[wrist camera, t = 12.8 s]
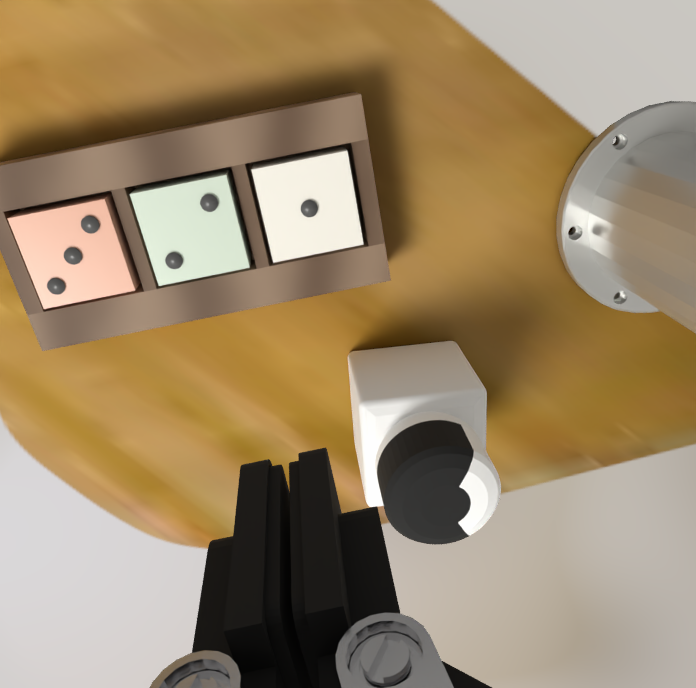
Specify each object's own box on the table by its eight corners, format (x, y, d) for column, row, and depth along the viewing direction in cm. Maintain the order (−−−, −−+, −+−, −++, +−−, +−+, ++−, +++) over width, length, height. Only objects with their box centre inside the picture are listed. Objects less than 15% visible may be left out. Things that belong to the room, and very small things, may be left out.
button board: (354, 92, 35) (360, 94, 32) (383, 265, 39) (390, 280, 36) (-8, 163, 34) (-33, 171, 32) (59, 330, 39) (42, 351, 36)
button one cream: (343, 145, 35) (347, 151, 32) (358, 234, 37) (363, 245, 35) (253, 163, 35) (251, 170, 32) (273, 251, 37) (273, 263, 34)
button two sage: (229, 167, 35) (226, 175, 32) (251, 255, 37) (249, 268, 34) (139, 186, 35) (129, 194, 32) (166, 272, 37) (158, 286, 34)
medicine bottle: (354, 444, 44) (378, 570, 33) (346, 350, 41) (370, 453, 30) (456, 432, 44) (514, 553, 33) (456, 338, 41) (519, 436, 30)
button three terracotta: (115, 190, 35) (103, 199, 32) (143, 277, 37) (134, 291, 34) (24, 208, 35) (6, 218, 32) (58, 294, 37) (43, 309, 34)
